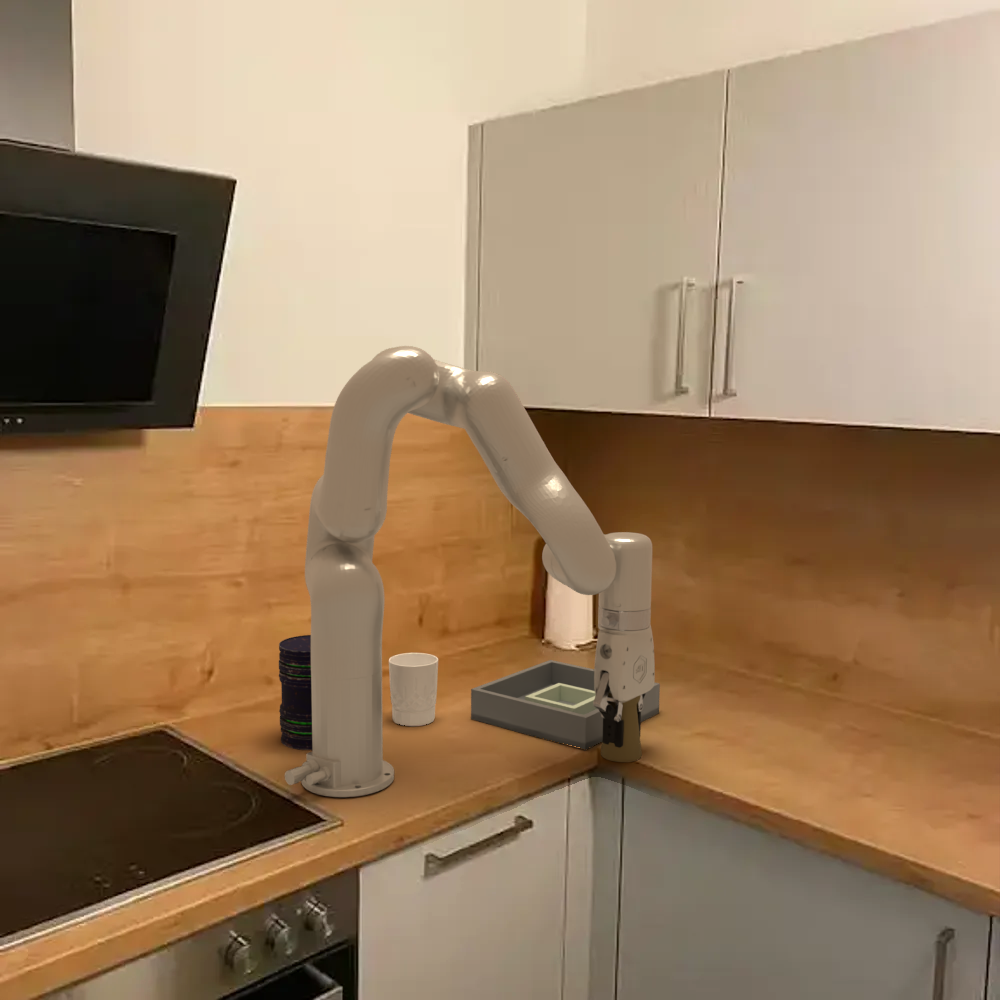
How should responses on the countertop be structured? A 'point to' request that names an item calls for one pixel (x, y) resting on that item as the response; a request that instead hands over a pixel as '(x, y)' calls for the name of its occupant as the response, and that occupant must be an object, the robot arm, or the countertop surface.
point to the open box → (549, 703)
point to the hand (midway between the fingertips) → (621, 739)
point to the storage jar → (296, 692)
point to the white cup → (413, 688)
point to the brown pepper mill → (625, 735)
